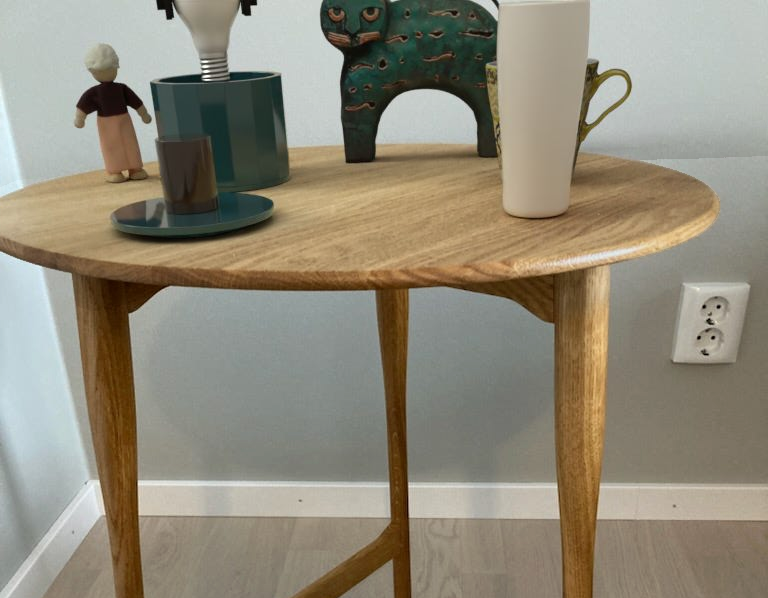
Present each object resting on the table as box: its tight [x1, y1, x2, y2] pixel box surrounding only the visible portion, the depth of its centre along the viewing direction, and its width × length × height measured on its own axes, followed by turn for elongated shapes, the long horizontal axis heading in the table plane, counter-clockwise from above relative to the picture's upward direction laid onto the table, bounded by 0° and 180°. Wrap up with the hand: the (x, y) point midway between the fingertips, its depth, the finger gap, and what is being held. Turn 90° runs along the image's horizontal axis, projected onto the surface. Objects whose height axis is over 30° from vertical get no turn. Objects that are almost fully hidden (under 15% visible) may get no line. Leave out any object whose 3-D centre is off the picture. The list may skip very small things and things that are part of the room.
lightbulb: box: [172, 0, 241, 83], centre depth 85 cm, size 6×6×11 cm
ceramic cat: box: [319, 0, 500, 164], centre depth 95 cm, size 20×6×20 cm, turn 88°
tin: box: [149, 70, 291, 193], centre depth 90 cm, size 12×12×10 cm
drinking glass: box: [497, 0, 591, 219], centre depth 70 cm, size 7×7×15 cm
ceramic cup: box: [486, 57, 633, 182], centre depth 83 cm, size 13×10×10 cm
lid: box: [109, 133, 276, 239], centre depth 74 cm, size 13×13×7 cm
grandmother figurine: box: [73, 42, 153, 183], centre depth 92 cm, size 8×4×13 cm, turn 130°
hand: (208, 15), depth 85 cm, fingers closed on lightbulb, 6 cm apart
